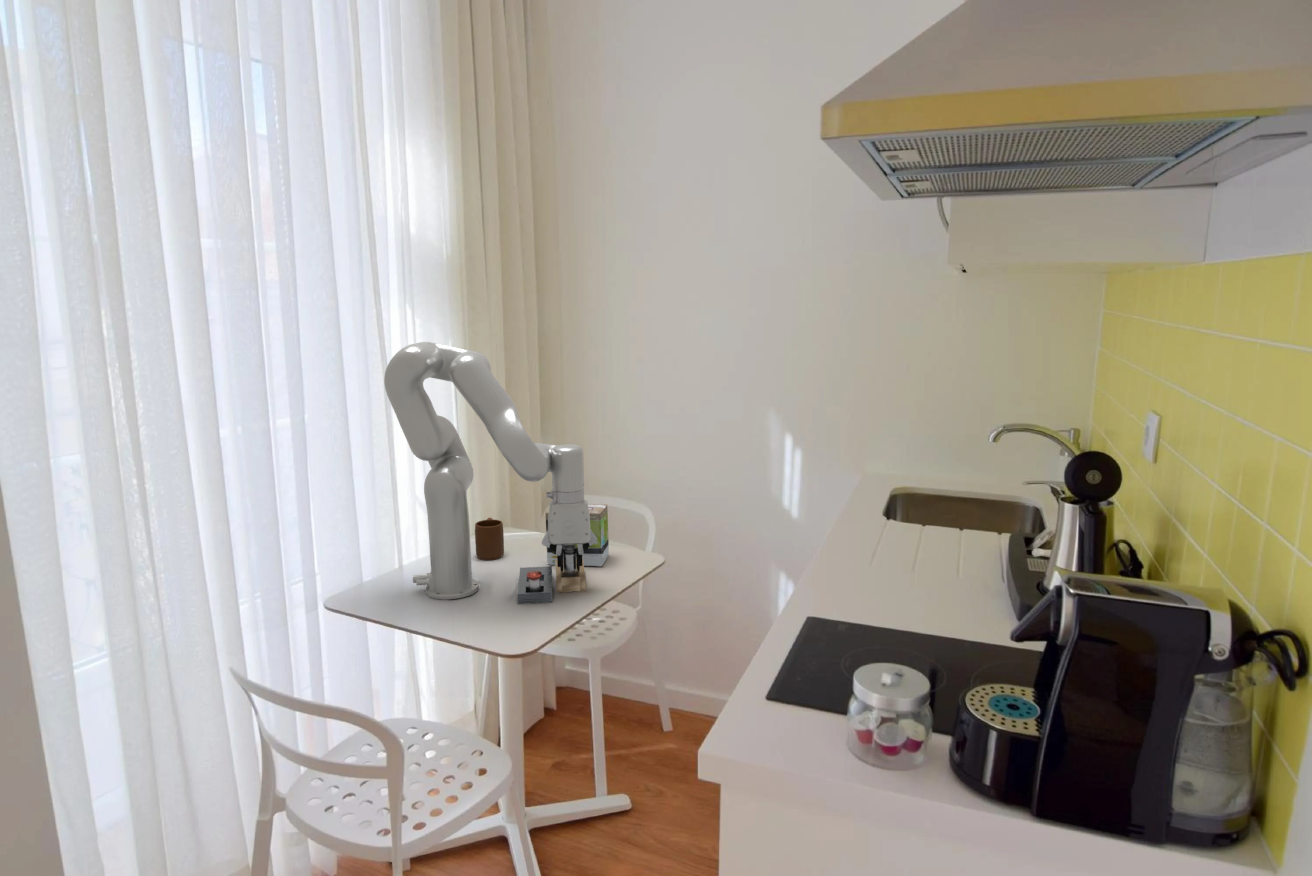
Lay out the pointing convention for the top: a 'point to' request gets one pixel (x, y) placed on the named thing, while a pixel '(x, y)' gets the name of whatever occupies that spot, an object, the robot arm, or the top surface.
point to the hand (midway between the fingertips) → (570, 568)
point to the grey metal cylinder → (569, 560)
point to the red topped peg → (534, 581)
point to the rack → (570, 580)
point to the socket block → (545, 586)
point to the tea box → (600, 529)
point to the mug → (489, 539)
